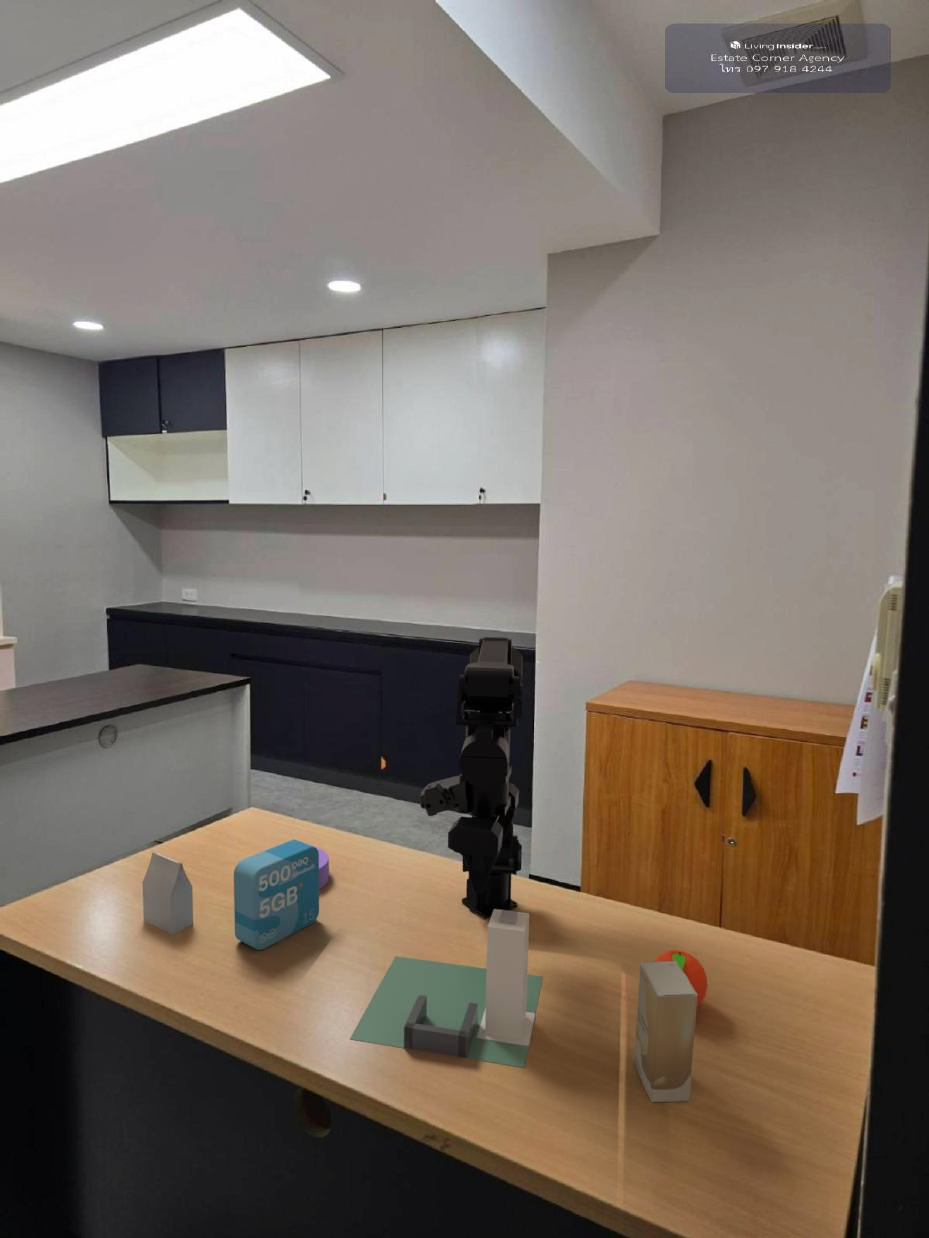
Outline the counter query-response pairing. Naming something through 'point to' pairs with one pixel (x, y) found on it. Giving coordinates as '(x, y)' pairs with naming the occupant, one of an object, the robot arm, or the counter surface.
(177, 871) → the grey milk carton
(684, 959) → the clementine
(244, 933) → the data package
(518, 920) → the white tall block
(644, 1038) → the skincare box
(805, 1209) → the counter surface
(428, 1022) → the board
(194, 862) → the counter surface
